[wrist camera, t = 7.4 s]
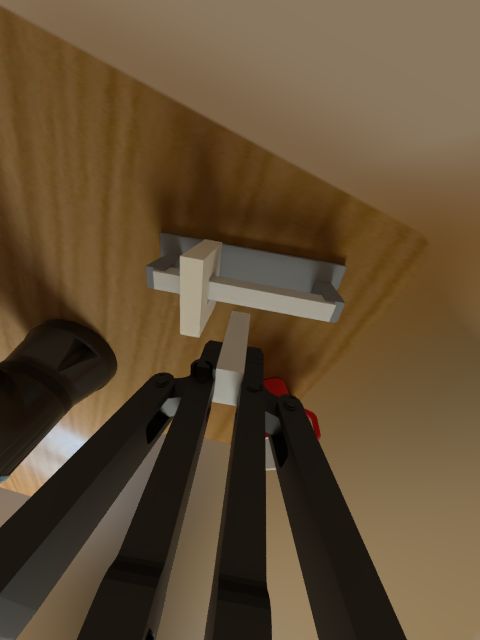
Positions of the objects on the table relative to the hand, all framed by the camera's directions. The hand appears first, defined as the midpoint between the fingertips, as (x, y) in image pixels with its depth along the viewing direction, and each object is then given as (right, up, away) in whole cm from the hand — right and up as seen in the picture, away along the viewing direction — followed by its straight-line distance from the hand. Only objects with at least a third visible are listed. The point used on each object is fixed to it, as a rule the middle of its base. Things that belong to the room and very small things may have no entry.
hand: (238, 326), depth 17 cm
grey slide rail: (+1, +6, +11) cm, 13 cm away
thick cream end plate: (-3, +6, +9) cm, 12 cm away
